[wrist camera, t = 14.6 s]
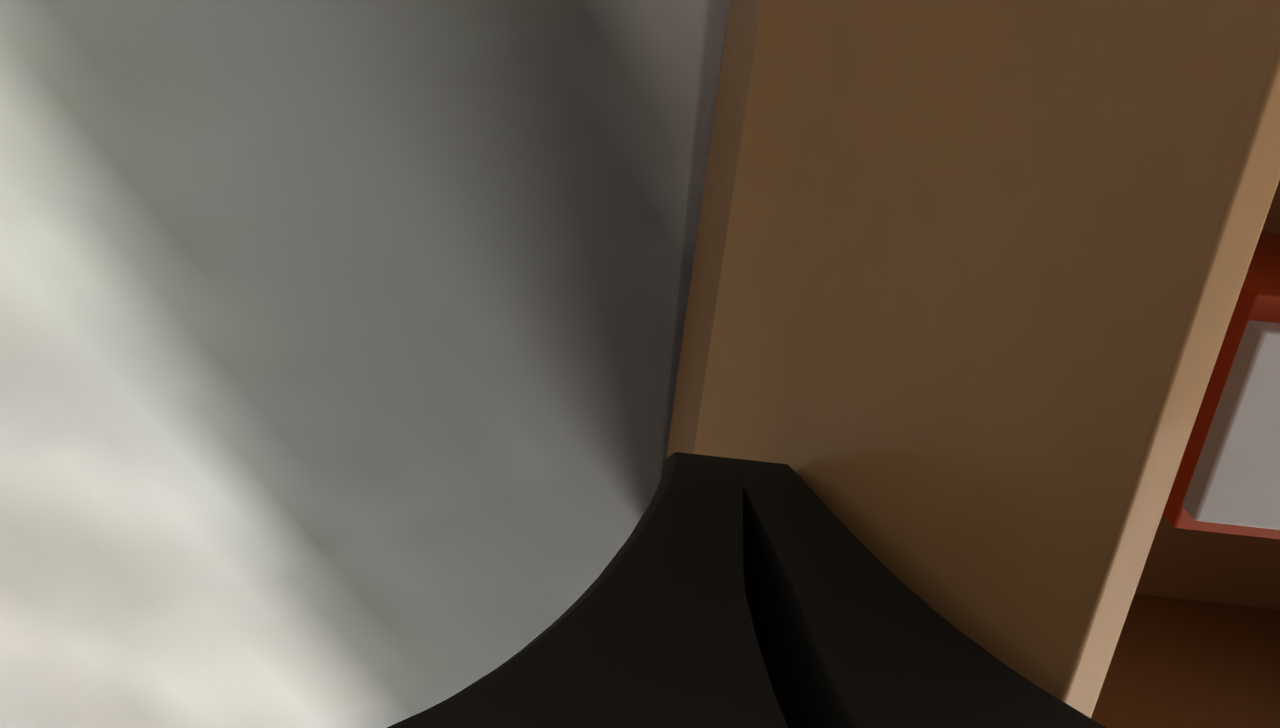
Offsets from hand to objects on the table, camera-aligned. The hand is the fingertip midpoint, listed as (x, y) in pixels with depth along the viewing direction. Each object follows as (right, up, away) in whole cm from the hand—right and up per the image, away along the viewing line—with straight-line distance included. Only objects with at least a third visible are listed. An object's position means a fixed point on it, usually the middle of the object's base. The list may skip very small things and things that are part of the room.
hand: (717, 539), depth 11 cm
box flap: (+1, 0, -1) cm, 1 cm away
